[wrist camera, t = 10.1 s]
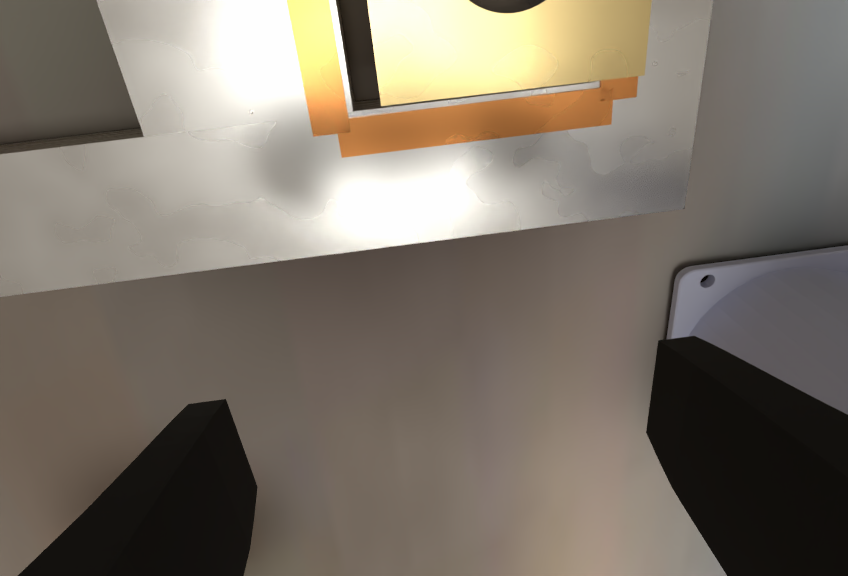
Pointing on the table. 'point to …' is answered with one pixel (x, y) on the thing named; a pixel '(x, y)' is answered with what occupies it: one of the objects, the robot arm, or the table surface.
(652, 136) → the panel
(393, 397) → the table surface
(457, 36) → the brass nut
